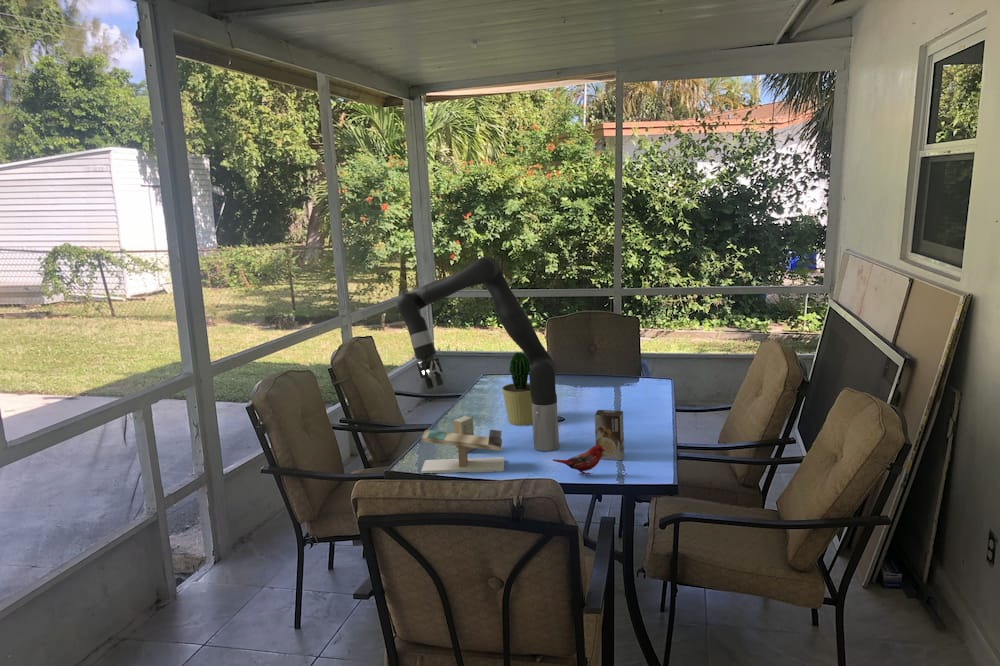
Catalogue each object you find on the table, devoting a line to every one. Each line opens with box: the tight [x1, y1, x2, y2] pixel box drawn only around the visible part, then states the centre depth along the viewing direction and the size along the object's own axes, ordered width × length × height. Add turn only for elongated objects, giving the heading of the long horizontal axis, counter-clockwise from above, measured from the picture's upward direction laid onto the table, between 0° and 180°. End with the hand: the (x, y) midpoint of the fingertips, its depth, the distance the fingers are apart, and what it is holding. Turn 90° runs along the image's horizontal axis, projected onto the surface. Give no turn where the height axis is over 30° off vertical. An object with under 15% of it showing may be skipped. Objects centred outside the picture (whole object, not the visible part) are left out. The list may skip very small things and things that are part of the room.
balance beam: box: [421, 429, 503, 452], centre depth 230 cm, size 27×8×4 cm, turn 88°
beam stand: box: [420, 446, 506, 475], centre depth 231 cm, size 28×10×8 cm, turn 88°
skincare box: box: [453, 415, 475, 453], centre depth 247 cm, size 6×4×12 cm
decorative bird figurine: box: [552, 444, 605, 475], centre depth 218 cm, size 3×18×10 cm, turn 95°
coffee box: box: [594, 409, 625, 461], centre depth 233 cm, size 9×6×16 cm
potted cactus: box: [501, 351, 533, 427], centre depth 276 cm, size 15×15×30 cm
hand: (435, 386), depth 247 cm, fingers open, 8 cm apart
